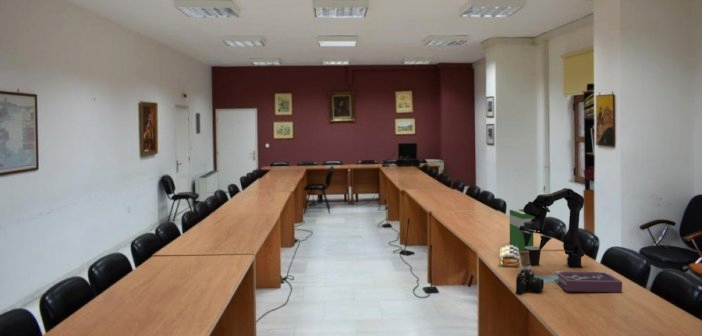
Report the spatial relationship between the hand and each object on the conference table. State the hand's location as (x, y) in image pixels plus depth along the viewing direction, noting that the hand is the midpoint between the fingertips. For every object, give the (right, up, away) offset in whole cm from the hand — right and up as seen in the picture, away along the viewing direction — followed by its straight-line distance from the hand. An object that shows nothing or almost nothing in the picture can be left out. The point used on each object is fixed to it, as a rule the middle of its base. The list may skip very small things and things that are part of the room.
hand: (532, 247), depth 263 cm
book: (+19, -16, -20) cm, 32 cm away
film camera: (-9, -17, -22) cm, 29 cm away
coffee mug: (+8, -13, +22) cm, 27 cm away
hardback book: (+14, -10, +59) cm, 62 cm away
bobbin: (-3, -14, +1) cm, 15 cm away
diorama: (-3, -14, +28) cm, 31 cm away
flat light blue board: (+5, -15, -8) cm, 18 cm away
